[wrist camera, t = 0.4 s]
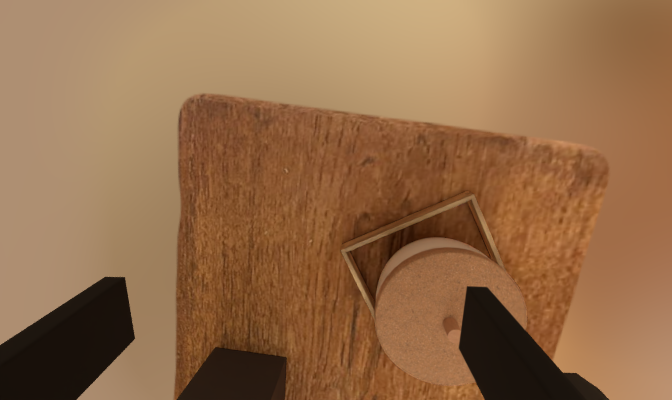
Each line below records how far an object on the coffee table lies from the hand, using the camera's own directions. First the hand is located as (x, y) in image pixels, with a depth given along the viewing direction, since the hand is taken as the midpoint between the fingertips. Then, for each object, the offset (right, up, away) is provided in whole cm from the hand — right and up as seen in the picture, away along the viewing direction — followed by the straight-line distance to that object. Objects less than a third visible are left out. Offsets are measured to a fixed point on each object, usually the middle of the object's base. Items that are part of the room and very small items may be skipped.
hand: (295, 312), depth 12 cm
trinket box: (+11, -3, +18) cm, 21 cm away
